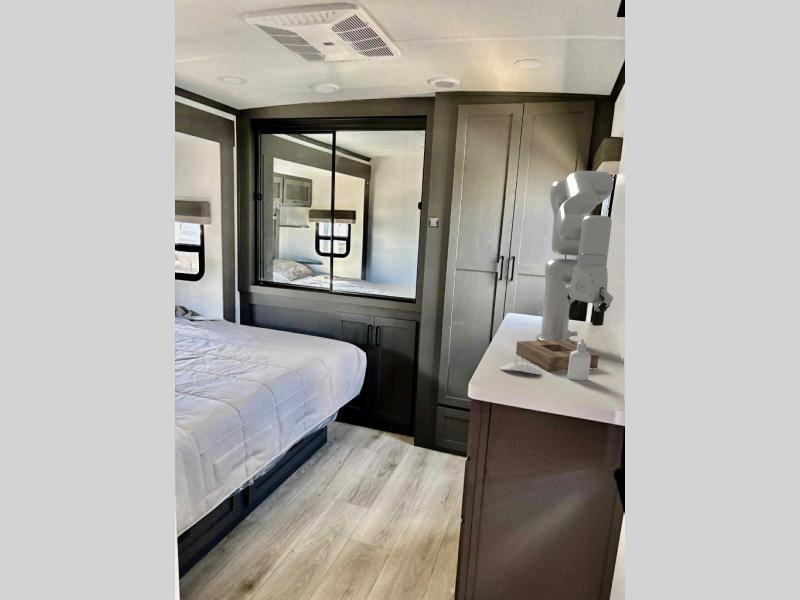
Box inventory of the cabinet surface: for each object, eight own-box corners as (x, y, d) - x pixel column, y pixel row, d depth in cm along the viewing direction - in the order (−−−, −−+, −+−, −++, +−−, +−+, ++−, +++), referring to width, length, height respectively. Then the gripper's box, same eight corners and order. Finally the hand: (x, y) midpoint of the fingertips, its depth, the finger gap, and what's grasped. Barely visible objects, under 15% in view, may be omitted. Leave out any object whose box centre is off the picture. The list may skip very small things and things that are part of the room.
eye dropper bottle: (586, 383, 126) (592, 342, 124) (566, 378, 129) (570, 338, 127) (589, 378, 130) (594, 338, 128) (568, 374, 132) (573, 335, 130)
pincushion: (499, 373, 131) (500, 354, 130) (500, 367, 137) (502, 349, 136) (541, 379, 128) (543, 360, 127) (541, 372, 134) (543, 354, 133)
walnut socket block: (560, 352, 157) (562, 339, 156) (597, 368, 140) (599, 354, 139) (515, 354, 151) (517, 341, 150) (548, 371, 134) (549, 357, 133)
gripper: (560, 258, 130) (554, 315, 133) (603, 263, 114) (595, 328, 116) (582, 259, 132) (575, 315, 135) (627, 264, 116) (619, 328, 119)
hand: (585, 321), depth 126 cm, fingers open, 9 cm apart
